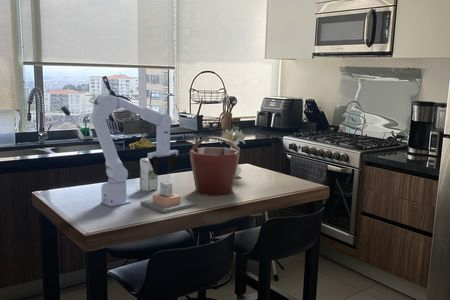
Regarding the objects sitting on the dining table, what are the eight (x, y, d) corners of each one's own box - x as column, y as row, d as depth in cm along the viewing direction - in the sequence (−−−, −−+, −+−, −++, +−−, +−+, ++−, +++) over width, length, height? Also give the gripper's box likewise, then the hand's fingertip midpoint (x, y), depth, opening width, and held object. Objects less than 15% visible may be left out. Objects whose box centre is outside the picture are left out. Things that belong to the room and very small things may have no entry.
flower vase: (242, 172, 247) (243, 127, 243) (245, 180, 229) (247, 131, 225) (218, 172, 247) (219, 126, 243) (220, 179, 229) (221, 130, 225)
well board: (164, 213, 171) (164, 202, 170) (140, 204, 182) (140, 194, 182) (196, 205, 182) (196, 195, 181) (172, 197, 193) (172, 188, 193)
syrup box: (149, 187, 210) (149, 156, 208) (158, 189, 207) (157, 158, 204) (139, 189, 206) (139, 158, 204) (148, 191, 202) (148, 160, 200)
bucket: (249, 193, 204) (251, 138, 200) (212, 201, 189) (213, 142, 185) (214, 183, 222) (215, 132, 218) (178, 189, 207) (178, 135, 203)
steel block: (166, 204, 179) (166, 184, 178) (160, 202, 182) (160, 182, 181) (172, 202, 181) (172, 183, 180) (166, 200, 184) (166, 181, 183)
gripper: (154, 144, 183) (154, 176, 185) (182, 141, 193) (182, 172, 195) (144, 142, 188) (145, 173, 190) (172, 139, 198) (172, 169, 200)
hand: (163, 173), depth 193 cm, fingers open, 7 cm apart
